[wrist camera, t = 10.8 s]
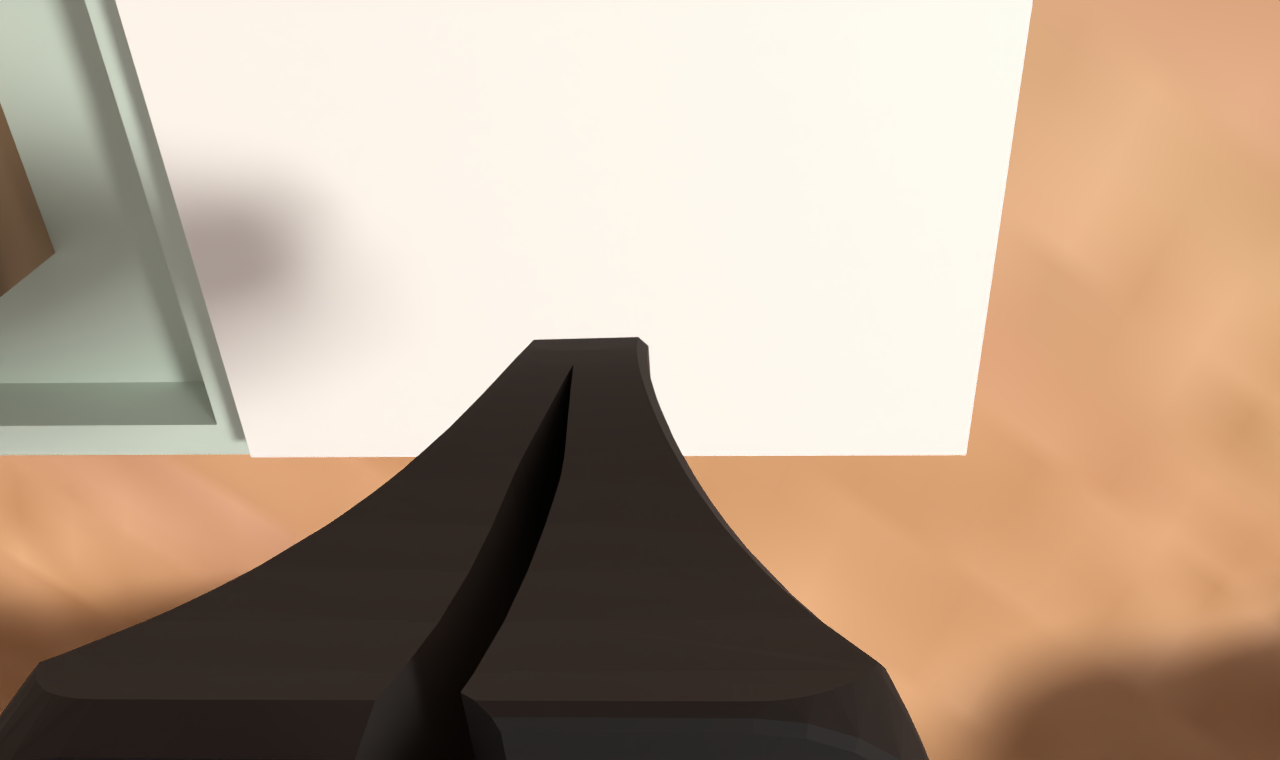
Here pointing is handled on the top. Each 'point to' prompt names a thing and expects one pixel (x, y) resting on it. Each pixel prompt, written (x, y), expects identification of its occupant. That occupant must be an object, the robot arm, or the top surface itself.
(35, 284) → the tray
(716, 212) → the board
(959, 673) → the top surface
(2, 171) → the walnut tile
